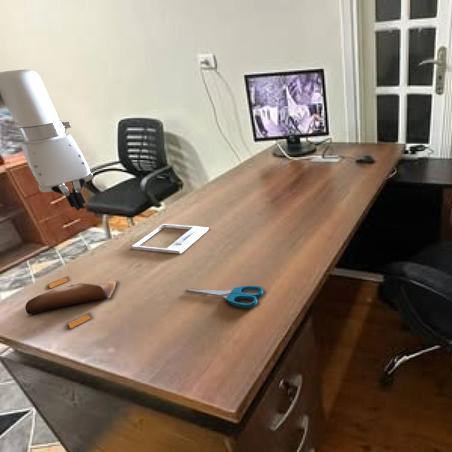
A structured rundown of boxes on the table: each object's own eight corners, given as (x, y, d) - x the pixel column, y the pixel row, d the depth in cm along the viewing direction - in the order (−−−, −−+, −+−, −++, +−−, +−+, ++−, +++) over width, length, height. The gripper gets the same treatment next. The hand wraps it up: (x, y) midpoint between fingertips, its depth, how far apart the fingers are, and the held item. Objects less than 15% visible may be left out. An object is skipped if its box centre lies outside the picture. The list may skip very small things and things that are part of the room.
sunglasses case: (117, 279, 95) (105, 269, 89) (116, 303, 91) (103, 295, 85) (44, 294, 91) (26, 284, 86) (39, 320, 88) (21, 312, 82)
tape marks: (70, 328, 80) (70, 328, 80) (48, 285, 96) (48, 284, 96) (90, 319, 82) (89, 318, 82) (65, 278, 98) (65, 277, 98)
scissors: (252, 305, 80) (178, 297, 85) (253, 308, 80) (179, 300, 86) (264, 286, 86) (194, 280, 91) (265, 289, 86) (195, 283, 91)
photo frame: (179, 250, 104) (131, 245, 109) (180, 253, 104) (132, 248, 110) (207, 226, 116) (163, 223, 121) (208, 229, 117) (164, 226, 122)
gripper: (77, 122, 83) (108, 193, 92) (-3, 138, 74) (40, 215, 83) (86, 126, 78) (117, 200, 87) (1, 143, 69) (46, 224, 78)
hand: (79, 207), depth 85 cm, fingers closed
